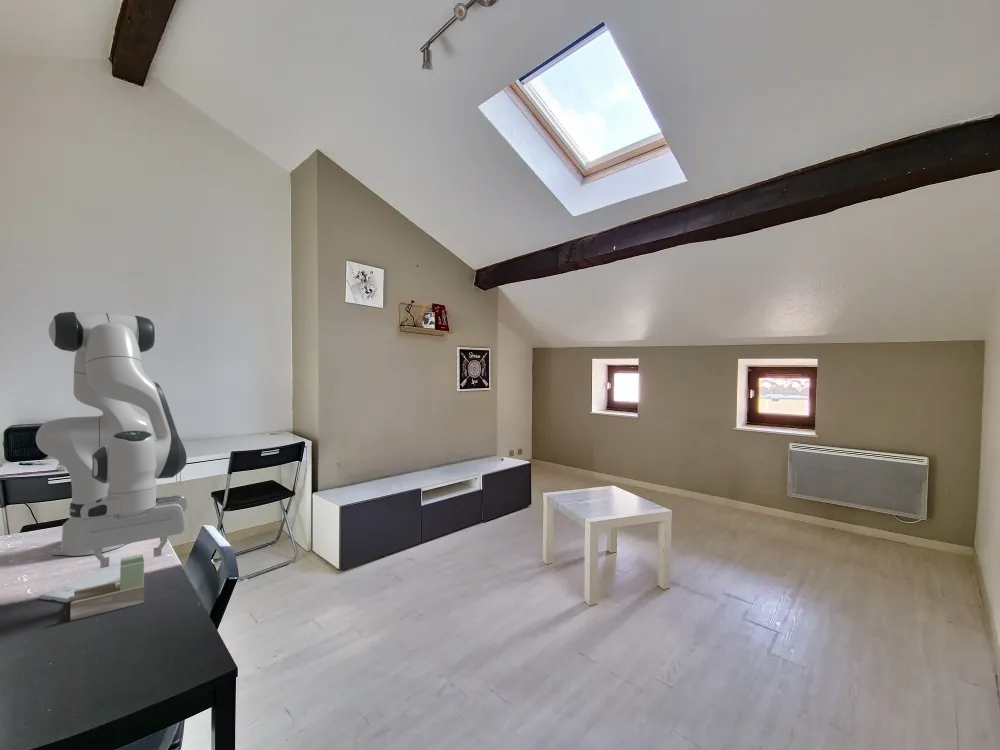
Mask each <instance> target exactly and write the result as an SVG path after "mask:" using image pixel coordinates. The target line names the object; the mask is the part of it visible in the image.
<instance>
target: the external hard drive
mask: <svg viewBox="0 0 1000 750" xmlns="http://www.w3.org/2000/svg"><path fill="white" fill-rule="evenodd" d="M115 581H120V573H119V572H117V573H116V572H110V571H101V570H100V571H97V572H95V573H92V574H90V575H87V576H85V577H82V578H80V579H78V580H75V581H72V582H70V583H67V584H65V585H63V586H61V587H60V586H59V587H57V588H55V589H52V590H50V591H48V592H45V593H43V594H39V599H40V600H47V601H56V602H60V603H66V604H67V603H71V602H73V600H74V591H76V590H79V589H84V588H88V587H93V586H97V585H102V584H106V583H111V582H115Z"/></svg>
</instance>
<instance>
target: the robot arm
mask: <svg viewBox="0 0 1000 750" xmlns="http://www.w3.org/2000/svg"><path fill="white" fill-rule="evenodd" d="M48 335H49V338H50V340H51V342H52V344H53V346H55V347H56V348H58V350H62V351H66V352H70V353H72V352H73V353H75V355H74V363H73V395H74V398H75V399H76V400H77V401H79V402H80V403H82V404H84V405H87V406H89V407H92V408H95V409H98V410H100V411H101V412H102V415H97V416H95V415H94V416H75V417H74V416H73V417H72V416H71V417H70V416H69V417H63V418H59V419H53V420H52V419H51V420H48V421H46V422H44V423H43V424H41V426H40V427H39V428H38V430H37V432H36V434H35V443H36V446H37V448H38V449H39V450H40V452H42V453H43V454H44V455H47V456H49V457H51V458H53V459H55V460H56V461H58V462H59V463H61V465H62V466H63V467H64V468H65V469H66V471H67V472H68V474H69V475H68V476H69V477H70V482H71V483H70V484H71V502H70V504H69V509H68V510H69V516H70V517H69V518H68V519H67V520H66V521H65V522H64V523H63V524H62V527H61V544H59V545H58V546H57V547H56V548H55V549H53V550H52V553H51V554H52V556H70V557H72V556H73V557H79V556H87V555H89V556H90V555H94V556H95V558H96V559H97V560H98V561H100V563H99V564H100V566H99V567H100V569H103V568H108V567H110V556H107V557H106V556H104V555H103V554H102V553H104V552H109V551H113V550H115V549H119V548H121V547H123V546H125V545H127V544H131V543H137V542H143V541H148V540H154V539H155V540H156V539H159V541H160V543H159V544H158V547H157V546H156V547H154V548H153V558H156V557H157V558H158V557H162V549H163V548H164V547H165V545H166V544H167V542H168V537H171V536H177V535H181V534H183V533H184V531H185V530H186V519H185V514H184V513H185V512H186V510H187V509H188V508H187V507H188V506H187V505H188V500H187V499H186V498H185V497H184V496H180V495H173V496H163V497H157V482H156V480H157V479H158V480H159V479H171V478H174V477H175V476H177V475H178V474H179V473H180V472H181V471H182V470H183V469H184V468H185V467H186V465H187V461H188V460H187V459H188V458H187V452H186V448H185V446H184V444H183V442H182V440H181V438H180V435H179V433H178V430H177V427H176V424H175V422H174V419H173V416H172V413H171V410H170V407H169V404H168V402H167V399H166V396H165V393H164V391H163V389H162V387H161V385H160V384H159V383H157V382H156V381H153V380H152V379H151V378H149V376H148V374H146V372H145V370H144V366H143V362H142V355H141V353H144V352H148V351H149V350H151V349H152V348H153V347H154V345H155V342H156V340H157V329H156V327H155V324H154V323H153V321H152V320H151V319H150V318H147V317H143V316H139V315H135V316H134V315H133V316H132V315H130V314H129V315H127V314H122V313H110V312H105V313H104V312H103V313H102V312H75V311H65V312H59V313H57V314H56V315H54V316H53V319H52V320H51V322H50V323H49V325H48ZM132 405H134V406H136V407H138V408H140V409H142V410H144V411H145V412H146V414H148V417H149V419H148V417H146V416H144V415H142V414H141V413H139V412H137V411H136V410H135V409H134V408H133V407H132ZM154 435H155V438H154ZM155 439H156V440H155Z"/></svg>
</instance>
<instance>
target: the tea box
mask: <svg viewBox="0 0 1000 750" xmlns="http://www.w3.org/2000/svg"><path fill="white" fill-rule="evenodd" d="M143 555H144V554H143V553H141V554H140V553H139V554H137V555H131V556H130V555H129V556H125V557H122V558H121V557H120V570H119V571H120V573H119V574H120V580H119V581H120V591H121V590H126V589H130V588H134V587H139V586H143V585H144V586H145V559H144V558H145V557H144V556H143Z"/></svg>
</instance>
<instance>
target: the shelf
mask: <svg viewBox="0 0 1000 750" xmlns="http://www.w3.org/2000/svg"><path fill="white" fill-rule="evenodd" d="M143 603H145V584H144V585H143V586H139V587H134V588H130V589H126V590H121V591H120V580H119V581H115V582H111V583H106V584H102V585H97V586H93V587H88V588H84V589H79V590H76V591H74V600H72V601H70V613H69V615H70V617H69V619H70V620H69V621H70V622H72V621H75V620H79V619H84V618H87V617H92V616H95V615H100V614H103V613H108V612H112V611H115V610H120V609H123V608H128V607H131V606H135V605H139V604H143Z"/></svg>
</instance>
